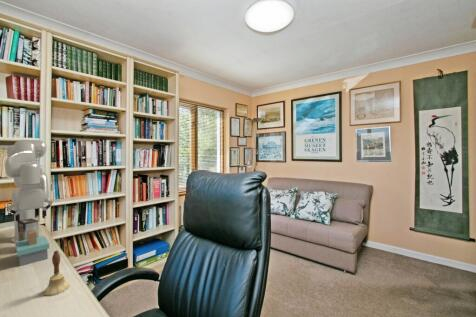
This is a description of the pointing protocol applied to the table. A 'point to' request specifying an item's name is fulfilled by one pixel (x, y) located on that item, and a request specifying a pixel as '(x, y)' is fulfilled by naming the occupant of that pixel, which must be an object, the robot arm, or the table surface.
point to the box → (32, 257)
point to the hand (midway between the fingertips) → (31, 220)
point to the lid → (31, 243)
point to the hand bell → (56, 278)
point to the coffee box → (27, 228)
